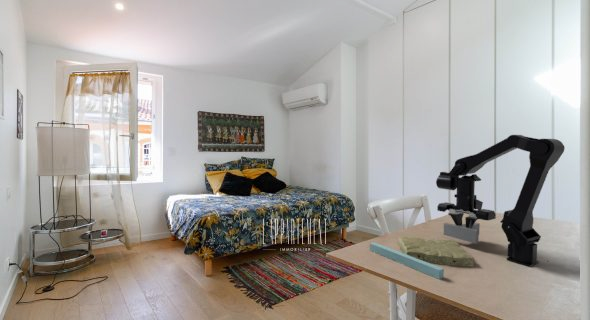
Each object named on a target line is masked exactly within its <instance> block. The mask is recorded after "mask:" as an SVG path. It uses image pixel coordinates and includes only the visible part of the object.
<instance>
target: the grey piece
mask: <svg viewBox="0 0 590 320" xmlns="http://www.w3.org/2000/svg"><path fill="white" fill-rule="evenodd" d="M480 226H481V225H480V223H479V222H475V223H474V225H473V227H472V229H471V228H467V227H466V223H464V224H463V223H462V225H459V226H458V225H455V223H454V224H452V223H449V222H444V223H443V236H446V237H451V238H454V239H458V240H460V241H461V240H462V241H464V242H469V243H472V244H479V236H480Z"/></svg>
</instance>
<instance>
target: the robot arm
mask: <svg viewBox="0 0 590 320" xmlns="http://www.w3.org/2000/svg"><path fill="white" fill-rule="evenodd" d="M516 149H518V150H522V151H525V152H529V156H528V158H529V163H530V164H529V169H528V171H527V173H526V174H527V175H526V177H525V180H524V183H523V185H522V188H521V190H520V193H519V195H518V198H517V201H516V202H515V206H514V207H513V209H510V210H509V209H508V210H505V211H504V213H503V216H502V219H501V221H499V222H500V223H501V230H502V231H503V233H504V234H505V237H506V240H507V242H508V244H507V257H506V261H509V262H510V261H511V262H513V263H517V264H520V265H523V266H527V267H533V266H535V265H537V264H538V263H540V261H539V260H538V258H537V257H538V244H537V243H539V242H540V241H541V237H542V236H541V235H540V234H539V233H538V232H537V230H535V229H534V227H533V224H534V214H533V211H534V209H535V206H536V204H537V201H538V198H539V197H540V194H541V191H542V189H543V186H544V184H545V181H546V178H547V177H548V174H549V171H550V169H551V168H552V167H553V166H554V165H556V163H558V161H559V159H560V158H561V157H562V155H563V154H564V152H565V145H564V143H563V142H562V141H561V140H558V139H556V138H537V137H536V138H534V137H530V136H525V135H522V134H511V135H509V136H508V137H507V138H505V139H502V140H501V141H499V142H497V143H495V144H493V145H491V146H489V147H488V148H485V149H484V150H481V151H479V152H478V153H475V154H473V155H468V156H467V155H466V156H463V157H461V158H459V159H456V161H454V166H453V167H452V169H451V170H450V171H449V172H447V171H441V172H440V173H439V175H438V176H437V178H436V180H435V184H436V187H437V189H440V190H447V191H455V190H456V194H454V198H456V201H455V203H456V204H455V203H452V202H451V203H450V202H446V201H445V202H441V203H438V204H437V211H438V212H442V213H443V212H444V213H445V212H447V211H449V213H447V215H448V216H450V217H451V219H452V222H453V223H454V225H458V226H459V225H463V217H464V215H465V214H466V215H468V216H466V217H465V224H466V227H467V228H471V229H472V227H473V225H474V223H477V221H478V220H483V221H491V220H495V219H496V217H497V216H496V215H497V214H496V212H495V211H494V210H491V209H485V208H483V203H484V202H483V201H481V200H479V199H478V198H477V194H475V189H476V188H475V187H476V186H475V184H476V183H475V182H479V181H480V182H481V181H482V179H481V178H480V176H478V175H477V174H476V172H478V171H479V170H481V169H482V168H483V167H484V166H485V165H486V164H487V163H489V162H491V161H493V160H495V159H498V158H499V157H502V156H504V155H507V154H508V153H510V152H512V151H514V150H516ZM469 174H470V175H469Z"/></svg>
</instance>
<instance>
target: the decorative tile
mask: <svg viewBox="0 0 590 320" xmlns="http://www.w3.org/2000/svg"><path fill="white" fill-rule="evenodd" d="M397 243H398V244H397V245H399V246H398V247H400V248H399V250H400V252H401V253H404V254H406V255H409V256H411V257H414V258H417V259H419V260H422V261H425V262H427V263H430V264H438V265H447V266H458V265H460V266H461V267H462V266H463V267H470V268H471V267H473V268H474V259H473V257H472V255H470V254H469V253H468V252H467V251H466V249H465V248H464V247H463V246H461V245H460V244H459V243H458V242H456V241H455V240H452V239H451V240H448V239H440V238H424V237H422V238H421V237H408V236H399V237H397ZM460 266H459V267H460Z"/></svg>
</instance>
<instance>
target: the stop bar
mask: <svg viewBox="0 0 590 320" xmlns="http://www.w3.org/2000/svg"><path fill="white" fill-rule="evenodd" d="M370 250H371V252H374V253H375V254H378V255H380V256H382V257H384V258H388V259H390V260H392V261H395V262H397V263H399V264H402V265H404V266H406V267H409V268H412V269H413V270H415V271H419V272H421V273H423V274H426V275H428V276H431V277H433V278H436V279H437V280H441V279H443V278H444V277H445V276H444V274H445V272H444V271H445V269H444V268H443V267H440V266H437V265H435V264H434V263H429V262H425V261H422V260H419V259H417V258H414V257H411V256H409V255H406V254H404V253H402V251H398V250H396V249H393V248H390V247H388V246H385V245H382V244H379V243H377V242H375V241H374V242H370V243H369V251H370Z"/></svg>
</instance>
